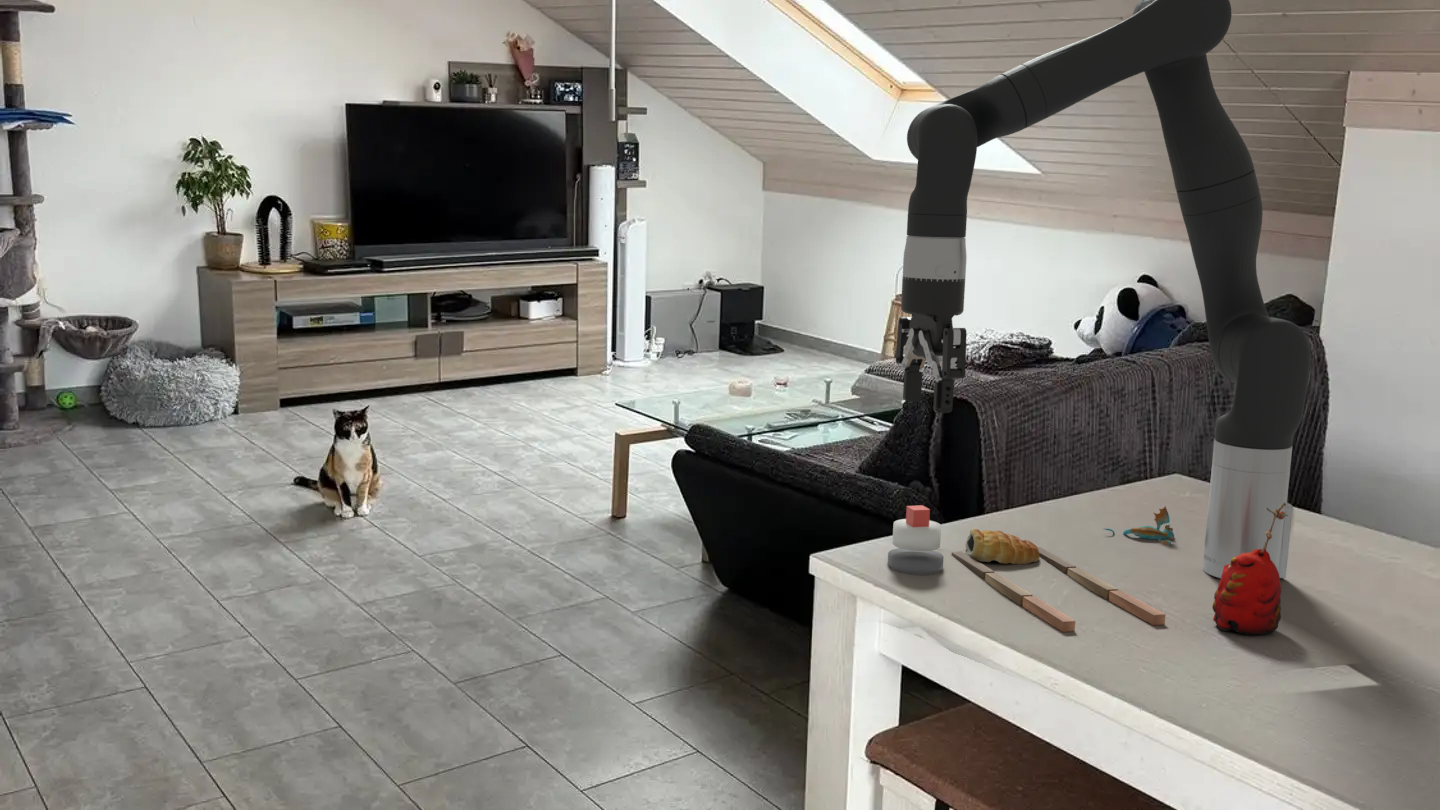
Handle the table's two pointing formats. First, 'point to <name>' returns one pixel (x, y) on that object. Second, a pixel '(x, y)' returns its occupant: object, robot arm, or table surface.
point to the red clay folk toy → (1250, 591)
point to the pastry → (1000, 547)
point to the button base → (915, 561)
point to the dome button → (917, 530)
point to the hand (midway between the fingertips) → (926, 406)
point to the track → (1050, 612)
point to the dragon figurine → (1154, 529)
